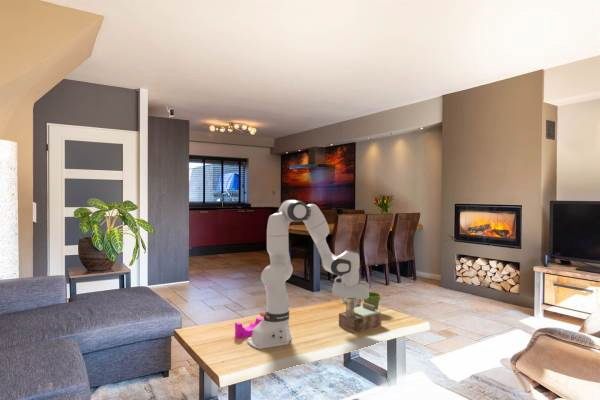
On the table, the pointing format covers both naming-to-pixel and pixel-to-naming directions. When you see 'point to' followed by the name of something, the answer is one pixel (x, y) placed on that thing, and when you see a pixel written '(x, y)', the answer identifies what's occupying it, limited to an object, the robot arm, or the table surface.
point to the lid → (366, 310)
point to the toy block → (245, 329)
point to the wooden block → (350, 307)
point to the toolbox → (359, 322)
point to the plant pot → (373, 299)
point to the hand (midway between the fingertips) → (349, 304)
